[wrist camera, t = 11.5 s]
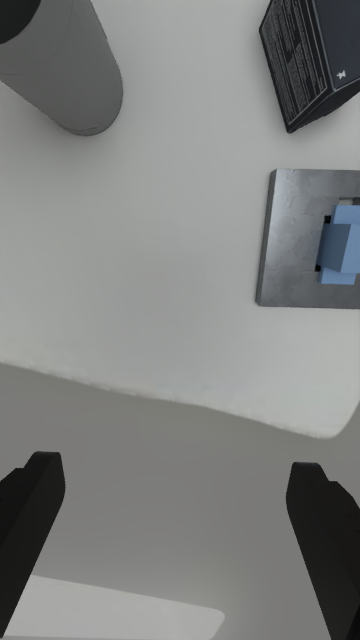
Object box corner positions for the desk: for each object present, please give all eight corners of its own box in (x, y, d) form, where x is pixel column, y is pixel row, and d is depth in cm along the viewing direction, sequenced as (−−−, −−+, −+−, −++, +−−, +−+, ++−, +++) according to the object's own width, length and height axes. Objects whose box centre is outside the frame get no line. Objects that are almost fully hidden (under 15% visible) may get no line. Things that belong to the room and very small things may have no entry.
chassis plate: (270, 172, 33) (277, 168, 31) (422, 175, 33) (441, 172, 30) (255, 301, 38) (259, 306, 36) (385, 304, 38) (398, 310, 36)
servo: (323, 206, 34) (356, 202, 27) (356, 207, 34) (396, 203, 27) (309, 278, 37) (336, 290, 30) (339, 279, 37) (372, 291, 30)
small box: (343, 107, 31) (418, 52, 21) (286, 135, 32) (331, 97, 22) (318, -9, 27) (392, -138, 18) (256, 28, 29) (292, -75, 19)
